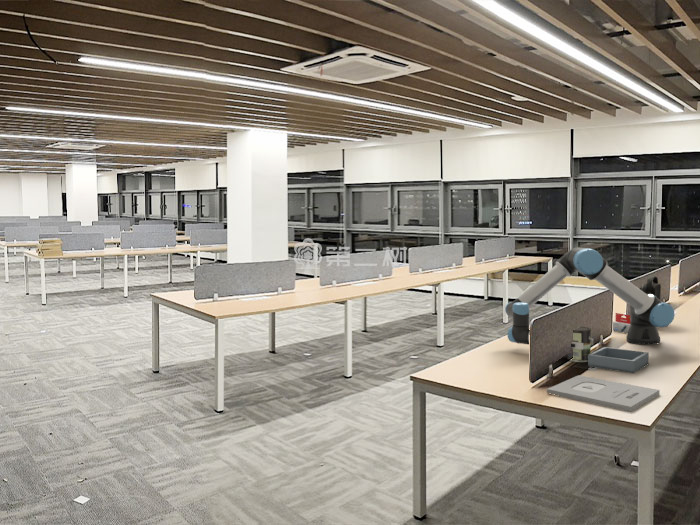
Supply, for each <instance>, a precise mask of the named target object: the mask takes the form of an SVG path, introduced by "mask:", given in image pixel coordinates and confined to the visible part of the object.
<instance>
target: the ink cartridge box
mask: <svg viewBox="0 0 700 525" xmlns="http://www.w3.org/2000/svg"><path fill="white" fill-rule="evenodd" d="M629 328H630V314H625V313H618V312H615V321H612V331H613V330H615V331H614V332H616V331H619V332H618V333H621V332H624V333H623V334H626V333H628V331H629Z"/></svg>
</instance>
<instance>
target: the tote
mask: <svg viewBox="0 0 700 525" xmlns="http://www.w3.org/2000/svg"><path fill="white" fill-rule="evenodd" d="M649 356H650V354H649V351H648V352H647V351H639V350H632V349H624V348H616V347H608V346H603V347H601V348H600V349H598V350H595V351H593V352H591V354H589V355H588V362H587V367H590V368H595V367H597V369H603V370H607V371H608V370H611V371H616V372H622V373H629V374H635V373H637V372H639V371H640V370H641V369H643V368H644V366H645V367H646V366H648V365H649V360H650V359H649V358H650V357H649ZM647 364H648V365H647Z"/></svg>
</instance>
